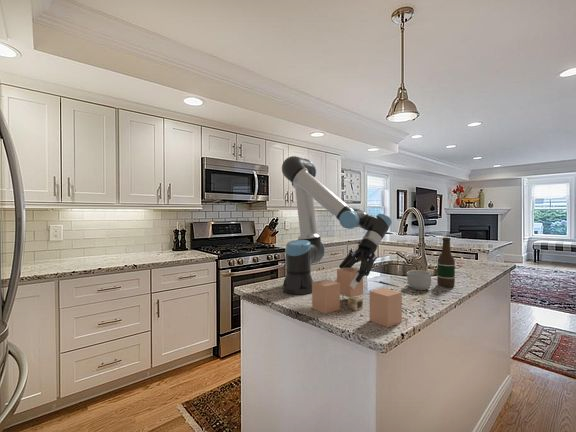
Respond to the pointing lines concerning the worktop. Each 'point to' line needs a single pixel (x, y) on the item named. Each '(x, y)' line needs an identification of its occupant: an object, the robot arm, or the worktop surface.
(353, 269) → the smooth terracotta cube
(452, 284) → the beer bottle
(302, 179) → the robot arm
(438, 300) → the worktop surface
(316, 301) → the peach colored cube
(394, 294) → the tan peach cube
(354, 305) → the beige cube
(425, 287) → the teacup
